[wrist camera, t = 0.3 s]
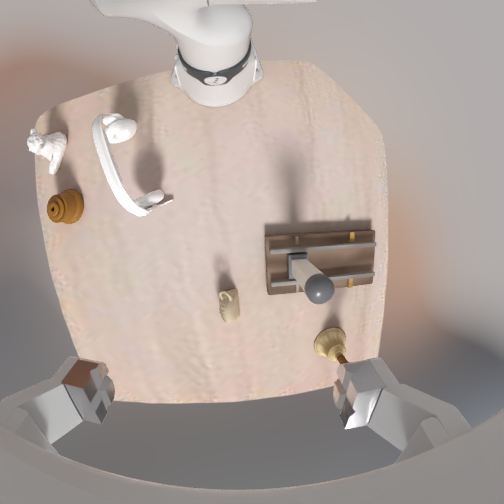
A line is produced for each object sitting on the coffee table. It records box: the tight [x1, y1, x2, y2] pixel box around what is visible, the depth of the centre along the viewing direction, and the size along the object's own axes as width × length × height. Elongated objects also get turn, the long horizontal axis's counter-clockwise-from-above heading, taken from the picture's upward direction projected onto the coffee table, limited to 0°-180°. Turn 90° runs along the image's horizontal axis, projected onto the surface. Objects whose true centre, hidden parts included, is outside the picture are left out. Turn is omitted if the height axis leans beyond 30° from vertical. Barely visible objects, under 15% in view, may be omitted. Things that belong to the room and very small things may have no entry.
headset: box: [92, 113, 174, 217], centre depth 41 cm, size 20×7×18 cm, turn 22°
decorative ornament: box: [219, 288, 240, 323], centre depth 55 cm, size 4×8×5 cm, turn 2°
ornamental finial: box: [47, 190, 83, 224], centre depth 46 cm, size 8×8×8 cm
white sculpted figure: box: [27, 129, 67, 174], centre depth 41 cm, size 10×9×12 cm
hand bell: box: [314, 328, 350, 364], centre depth 54 cm, size 8×8×16 cm
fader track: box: [265, 230, 376, 295], centre depth 55 cm, size 12×24×4 cm, turn 93°
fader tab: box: [287, 253, 334, 304], centre depth 47 cm, size 5×4×15 cm
